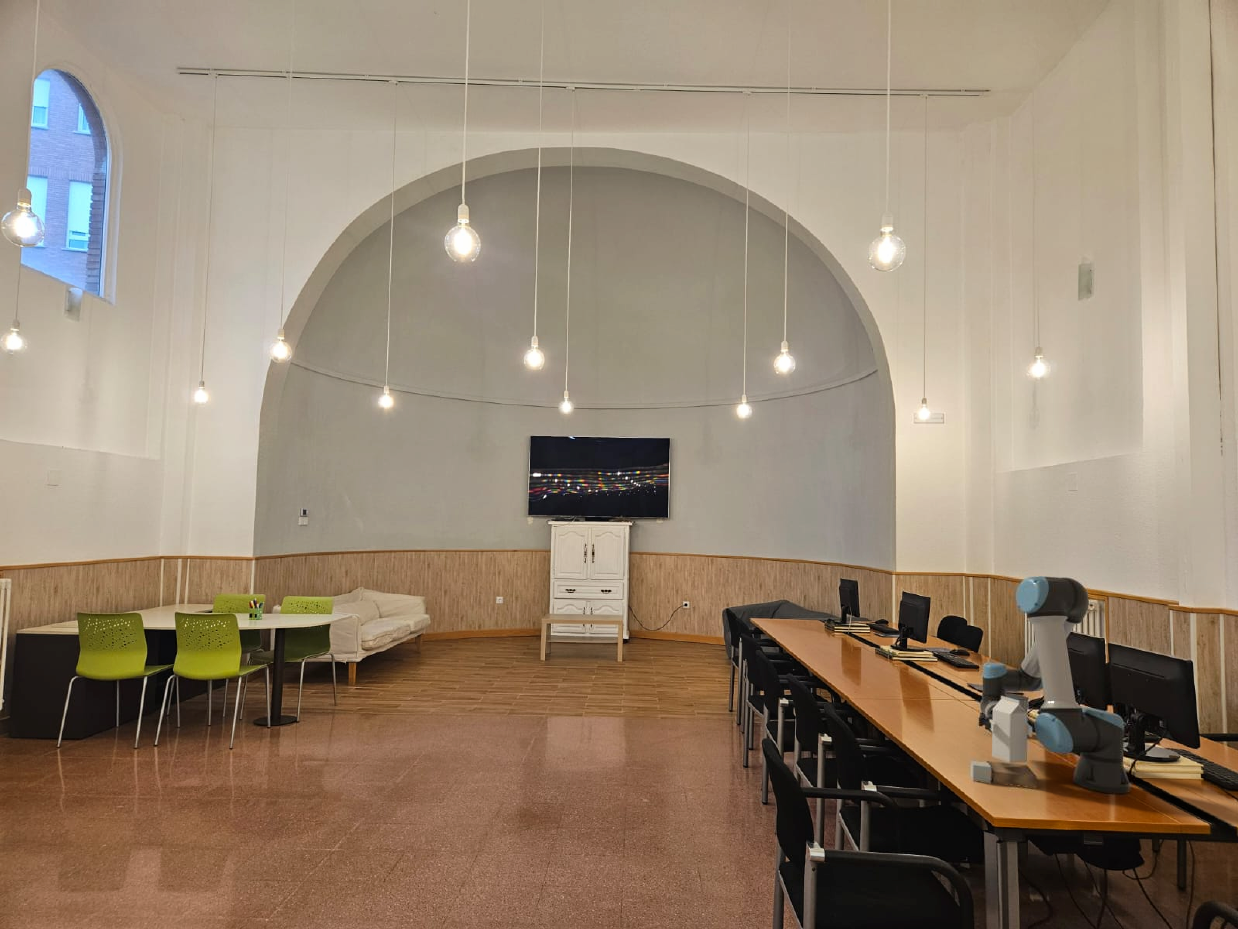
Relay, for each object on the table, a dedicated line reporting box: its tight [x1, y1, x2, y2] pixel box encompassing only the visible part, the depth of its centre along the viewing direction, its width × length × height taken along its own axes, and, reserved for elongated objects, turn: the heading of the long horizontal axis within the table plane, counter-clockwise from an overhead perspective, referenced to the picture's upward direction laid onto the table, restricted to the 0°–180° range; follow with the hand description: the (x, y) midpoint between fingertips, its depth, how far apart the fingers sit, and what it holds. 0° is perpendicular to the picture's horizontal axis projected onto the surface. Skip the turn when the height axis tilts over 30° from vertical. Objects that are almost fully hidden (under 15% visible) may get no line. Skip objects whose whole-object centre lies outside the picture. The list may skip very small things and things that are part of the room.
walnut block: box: [986, 760, 1037, 788], centre depth 259 cm, size 12×12×4 cm
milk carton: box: [991, 696, 1028, 764], centre depth 260 cm, size 7×7×19 cm
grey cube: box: [969, 760, 992, 784], centre depth 257 cm, size 5×5×5 cm
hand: (1012, 730), depth 256 cm, fingers closed on milk carton, 10 cm apart
